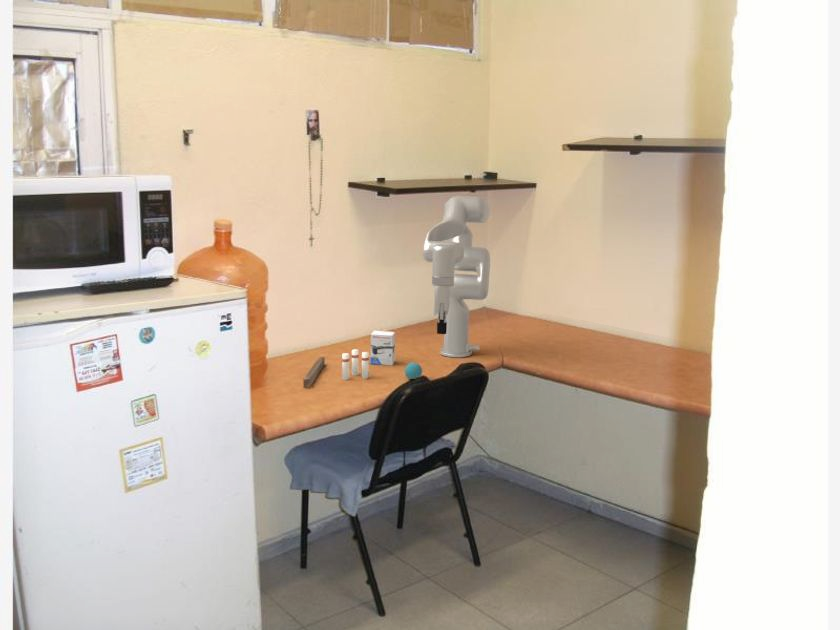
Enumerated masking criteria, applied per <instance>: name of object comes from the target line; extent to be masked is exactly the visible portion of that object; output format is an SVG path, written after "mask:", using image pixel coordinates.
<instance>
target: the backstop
mask: <svg viewBox="0 0 840 630" xmlns="http://www.w3.org/2000/svg"><path fill="white" fill-rule="evenodd" d="M325 360H326V359H325V356H318V358H317V359H316V361H314V363H313V365H312V366H311V367H310V369H309V370H308V372H307V374H306V375H305V376H304V378H302V379H303V381H302V382H303V389H306V388H307V389H309V388H311V386H312V384H313V383H314V382H315V380H316V379H317V377H318V376H319V374H320V373H321V371H322V369H323V368H324V366H325V363H326V361H325ZM317 375H318V376H317Z"/></svg>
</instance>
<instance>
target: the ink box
mask: <svg viewBox="0 0 840 630" xmlns="http://www.w3.org/2000/svg"><path fill="white" fill-rule="evenodd" d="M395 347H396V332H394V331H383V330H373V331H372V332H371V334H370V365H379V366H380V365H381V366H393V365H394V363H395V362H396V361H395V359H396V358H395V356H396V353H395V351H396V350H395V349H396V348H395Z"/></svg>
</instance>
